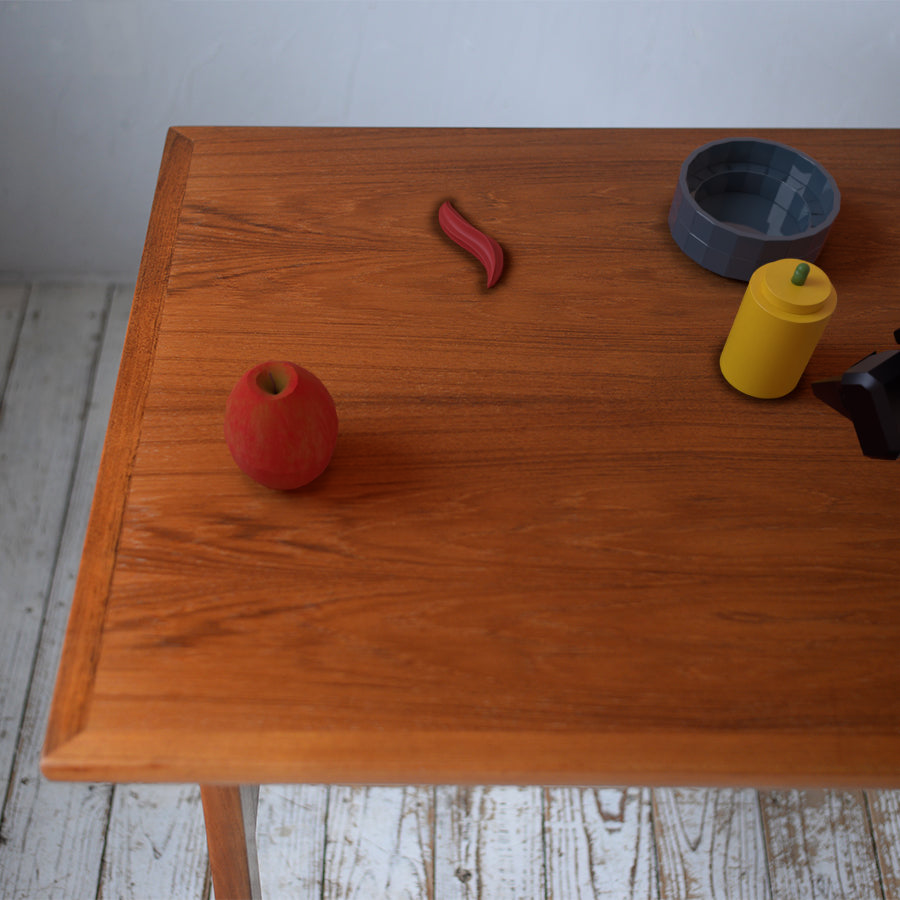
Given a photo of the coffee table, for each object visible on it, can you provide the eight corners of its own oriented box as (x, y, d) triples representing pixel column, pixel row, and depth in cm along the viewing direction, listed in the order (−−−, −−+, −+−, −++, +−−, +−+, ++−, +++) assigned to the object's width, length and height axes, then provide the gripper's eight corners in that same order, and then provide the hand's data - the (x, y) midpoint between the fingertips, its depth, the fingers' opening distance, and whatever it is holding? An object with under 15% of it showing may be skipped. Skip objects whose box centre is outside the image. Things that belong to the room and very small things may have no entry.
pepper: (813, 367, 81) (866, 264, 71) (772, 412, 78) (822, 310, 69) (746, 327, 83) (789, 222, 74) (704, 368, 81) (743, 264, 71)
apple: (313, 405, 77) (301, 311, 68) (361, 480, 73) (354, 389, 64) (217, 446, 74) (191, 353, 66) (261, 526, 70) (240, 438, 62)
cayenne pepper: (512, 284, 86) (514, 268, 84) (462, 291, 85) (463, 275, 83) (480, 197, 92) (481, 181, 91) (433, 203, 92) (433, 187, 90)
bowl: (822, 201, 94) (843, 154, 89) (815, 301, 86) (837, 255, 81) (677, 172, 96) (690, 124, 91) (656, 267, 87) (669, 220, 83)
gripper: (1124, 170, 59) (906, 213, 73) (930, 290, 52) (731, 312, 66) (1163, 337, 62) (945, 347, 76) (984, 472, 55) (781, 456, 69)
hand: (855, 362), depth 72 cm, fingers open, 9 cm apart
